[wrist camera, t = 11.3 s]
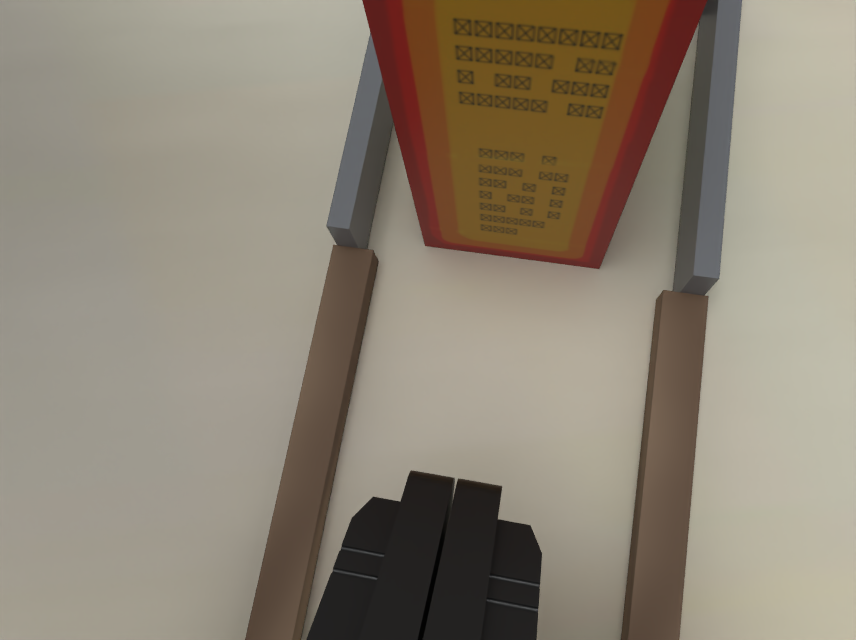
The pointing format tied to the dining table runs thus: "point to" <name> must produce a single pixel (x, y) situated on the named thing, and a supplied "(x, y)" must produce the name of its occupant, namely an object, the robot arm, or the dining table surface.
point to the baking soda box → (527, 114)
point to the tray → (701, 169)
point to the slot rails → (324, 424)
